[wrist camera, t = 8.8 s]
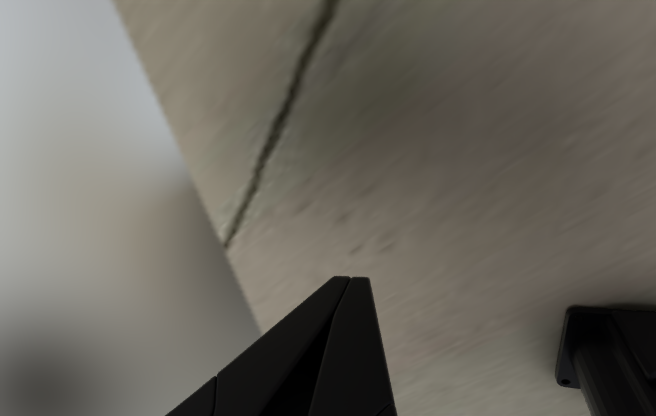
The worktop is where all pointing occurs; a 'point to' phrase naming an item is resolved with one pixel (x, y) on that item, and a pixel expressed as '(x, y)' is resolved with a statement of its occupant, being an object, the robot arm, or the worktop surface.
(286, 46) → the worktop surface
